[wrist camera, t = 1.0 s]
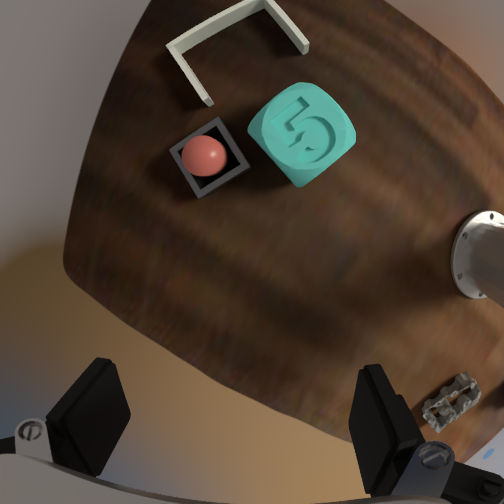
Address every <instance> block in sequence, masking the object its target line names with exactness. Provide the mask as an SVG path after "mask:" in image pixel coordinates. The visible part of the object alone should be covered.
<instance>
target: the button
mask: <svg viewBox="0 0 504 504" xmlns="http://www.w3.org/2000/svg"><path fill="white" fill-rule="evenodd" d="M182 162H183V165H184V167H185V168H186V169H187V171H189V172H190V173H191V174H193V175H196V176H214V175H217V174H219V173H220V172H222V171H223V170H224V169H225V167H226V165H227V162H228V152H227V150H226V148H225V146H224V145H223V144H222V143H220V142H219V141H217V140H215V139H213V138H211V137H209V136H204V135H202V136H196V137H194V138H192V139H191V140H189V141H188V142H187V143H186V145H185V146H184V149H183V151H182Z"/></svg>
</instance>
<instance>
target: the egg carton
mask: <svg viewBox="0 0 504 504" xmlns="http://www.w3.org/2000/svg"><path fill="white" fill-rule="evenodd" d="M468 387H470V388H471V391H470V392H469V393H468V394H466V393H464V394H462V395H460V396H459V397H458V399H457V403H456V404H455V405H453V406H451V405H450V404H449V402H448V400H447V399H446V398H444V397H454V395H456V394H458V393H460V391H462V390H464V389H466V388H468ZM480 396H481V391H480V389H479V387H478V385H477V382H476V380H474V379H473V378H472V377H471V376H470V375H469V373H468V372H465V373H463V374H461V373H459V374H458V375H457V376H456V377H455V381H454V383H453V384H452V385H451V386H448V387H445V386H444V387H443V388H442V389H441V390H440V394H439V395H438V396H437V397H436V398H435V399H428V400H427V401H425V402H424V407H423V408H422V409H421V410H422V412H423V414H424V415H422V416H423V417H424V418H425V420H426V421H427V422H428V423H429V424H430V425H431V427H432V428H433V429H434V430H435V431H436V432H437V433H440V431H441V430H442V429H443V428H444V427H446V425H447V424H449V423H451V421H452V420H456V419H457V418H458V417H459V416H460V415H462V414H463V413H464V412H465V411H466V410H467V409H469V408H471V407H472V406H474V405H475V404H476V403H477V402H478V401H479V398H480ZM431 407H433V408H434V407H436V408H437V410H438V412H439V413H440V415H441V416H440V417H438V418H437V417H434V415H433V413H432V411H431V410H428V409H430V408H431Z"/></svg>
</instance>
